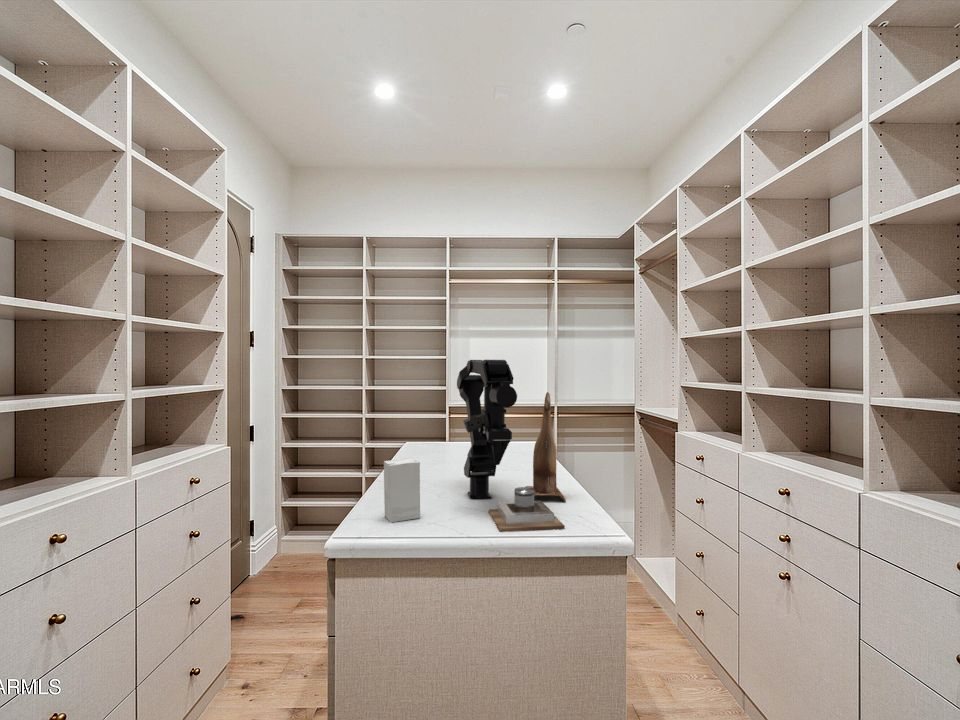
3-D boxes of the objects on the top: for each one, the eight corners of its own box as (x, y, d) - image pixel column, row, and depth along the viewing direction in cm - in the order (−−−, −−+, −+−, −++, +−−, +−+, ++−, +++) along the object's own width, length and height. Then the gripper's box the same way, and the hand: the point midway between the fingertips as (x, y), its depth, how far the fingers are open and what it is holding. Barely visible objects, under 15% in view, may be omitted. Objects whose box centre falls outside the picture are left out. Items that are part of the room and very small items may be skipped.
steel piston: (512, 514, 129) (512, 487, 129) (531, 513, 130) (531, 486, 130) (516, 520, 124) (516, 492, 124) (536, 519, 125) (536, 491, 125)
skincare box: (413, 513, 133) (414, 457, 133) (421, 519, 127) (421, 461, 127) (382, 517, 129) (383, 459, 129) (389, 523, 124) (389, 463, 124)
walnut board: (488, 512, 133) (488, 509, 133) (546, 510, 136) (546, 507, 136) (499, 531, 118) (499, 528, 118) (564, 529, 120) (564, 525, 120)
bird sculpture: (528, 504, 143) (530, 393, 142) (522, 492, 155) (524, 390, 154) (566, 504, 144) (568, 393, 143) (557, 492, 155) (559, 390, 155)
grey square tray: (497, 511, 132) (497, 502, 132) (541, 509, 133) (541, 500, 134) (506, 525, 120) (506, 515, 120) (554, 523, 122) (554, 513, 122)
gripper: (461, 402, 145) (461, 456, 145) (469, 407, 127) (469, 469, 126) (499, 402, 147) (498, 455, 147) (512, 407, 128) (512, 468, 128)
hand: (494, 461), depth 137 cm, fingers open, 9 cm apart
